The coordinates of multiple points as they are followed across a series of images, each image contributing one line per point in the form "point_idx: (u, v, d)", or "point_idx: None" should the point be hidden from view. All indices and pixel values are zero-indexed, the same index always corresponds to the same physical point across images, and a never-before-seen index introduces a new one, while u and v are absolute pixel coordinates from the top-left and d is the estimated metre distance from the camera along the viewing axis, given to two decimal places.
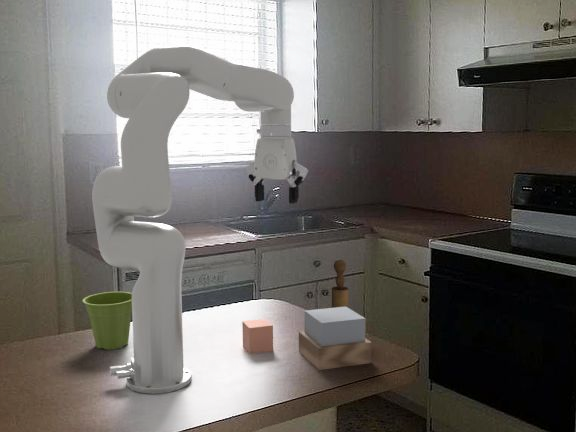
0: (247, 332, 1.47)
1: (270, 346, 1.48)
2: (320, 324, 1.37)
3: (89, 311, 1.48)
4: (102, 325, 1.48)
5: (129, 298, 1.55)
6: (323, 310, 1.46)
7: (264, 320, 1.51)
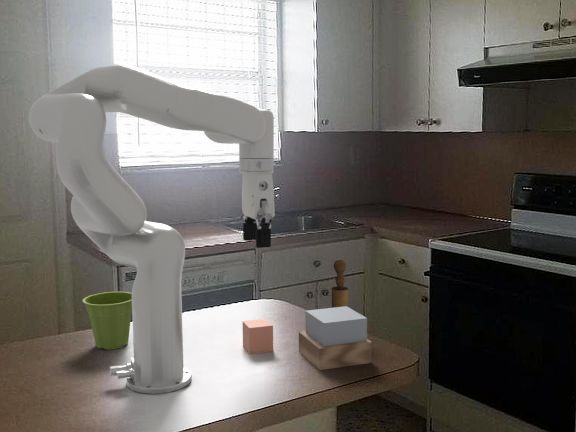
0: (247, 332, 1.47)
1: (270, 346, 1.48)
2: (322, 325, 1.37)
3: (89, 311, 1.48)
4: (102, 325, 1.48)
5: (129, 298, 1.55)
6: (324, 310, 1.46)
7: (264, 320, 1.51)
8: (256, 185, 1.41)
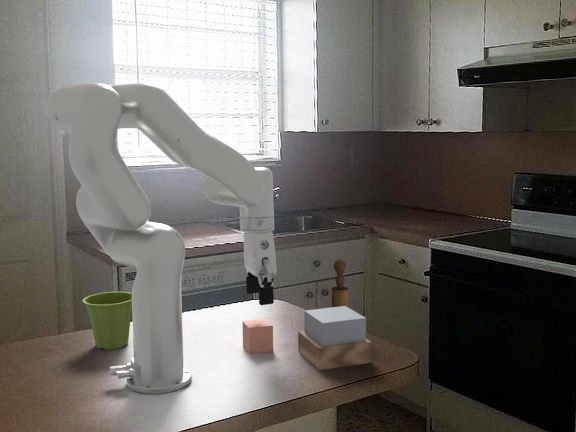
0: (247, 332, 1.47)
1: (270, 346, 1.48)
2: (321, 325, 1.37)
3: (89, 311, 1.48)
4: (102, 325, 1.48)
5: (129, 298, 1.55)
6: (323, 310, 1.46)
7: (264, 320, 1.51)
8: (257, 244, 1.42)
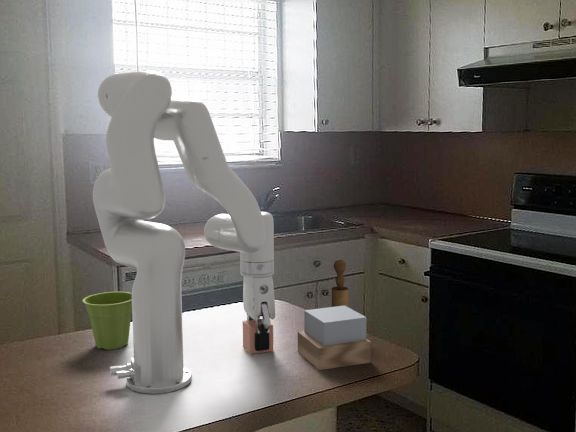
0: (247, 332, 1.47)
1: (271, 345, 1.48)
2: (322, 324, 1.38)
3: (89, 311, 1.48)
4: (102, 325, 1.48)
5: (129, 298, 1.55)
6: (323, 309, 1.46)
7: None
8: (257, 288, 1.43)
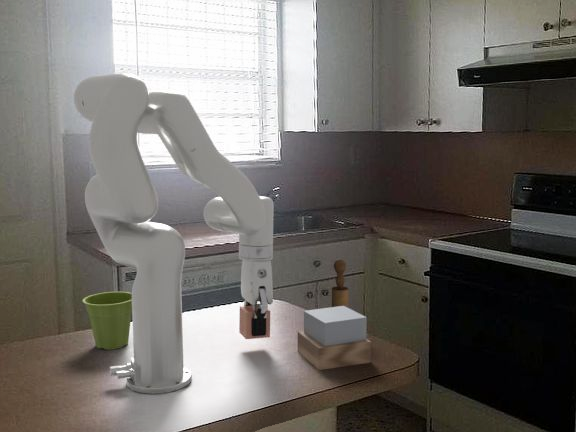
0: (244, 317, 1.46)
1: (267, 331, 1.47)
2: (323, 324, 1.37)
3: (89, 311, 1.48)
4: (102, 325, 1.48)
5: (129, 298, 1.55)
6: (322, 310, 1.46)
7: None
8: (255, 272, 1.43)
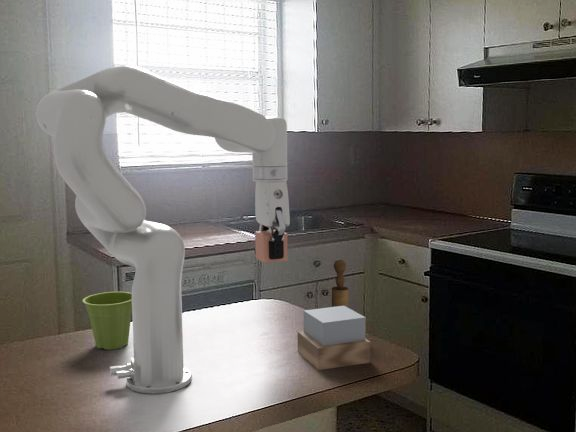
0: (261, 240, 1.43)
1: (285, 255, 1.44)
2: (321, 324, 1.38)
3: (89, 311, 1.48)
4: (102, 325, 1.48)
5: (129, 298, 1.55)
6: (322, 309, 1.46)
7: None
8: (271, 193, 1.40)
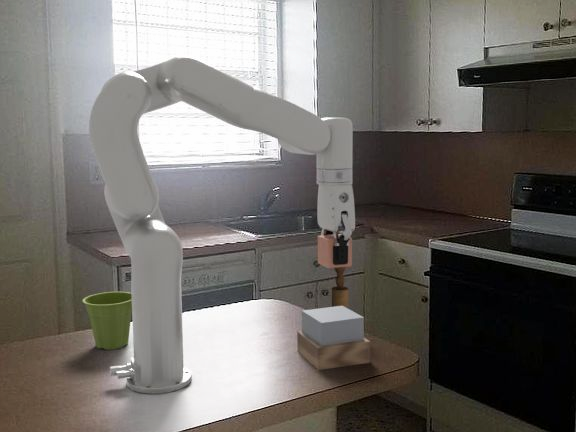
0: (325, 245, 1.39)
1: (349, 260, 1.40)
2: (319, 324, 1.38)
3: (89, 311, 1.48)
4: (102, 325, 1.48)
5: (129, 298, 1.55)
6: (320, 310, 1.46)
7: None
8: (337, 196, 1.35)
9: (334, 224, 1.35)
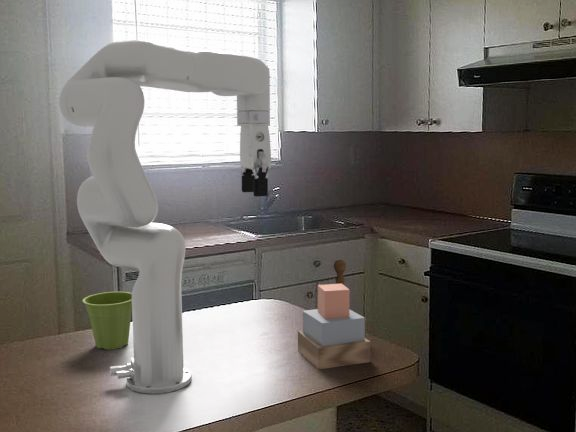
0: (322, 296, 1.41)
1: (347, 311, 1.41)
2: (320, 325, 1.38)
3: (89, 311, 1.48)
4: (102, 325, 1.48)
5: (129, 298, 1.55)
6: None
7: (340, 285, 1.44)
8: (253, 136, 1.47)
9: (251, 161, 1.47)
